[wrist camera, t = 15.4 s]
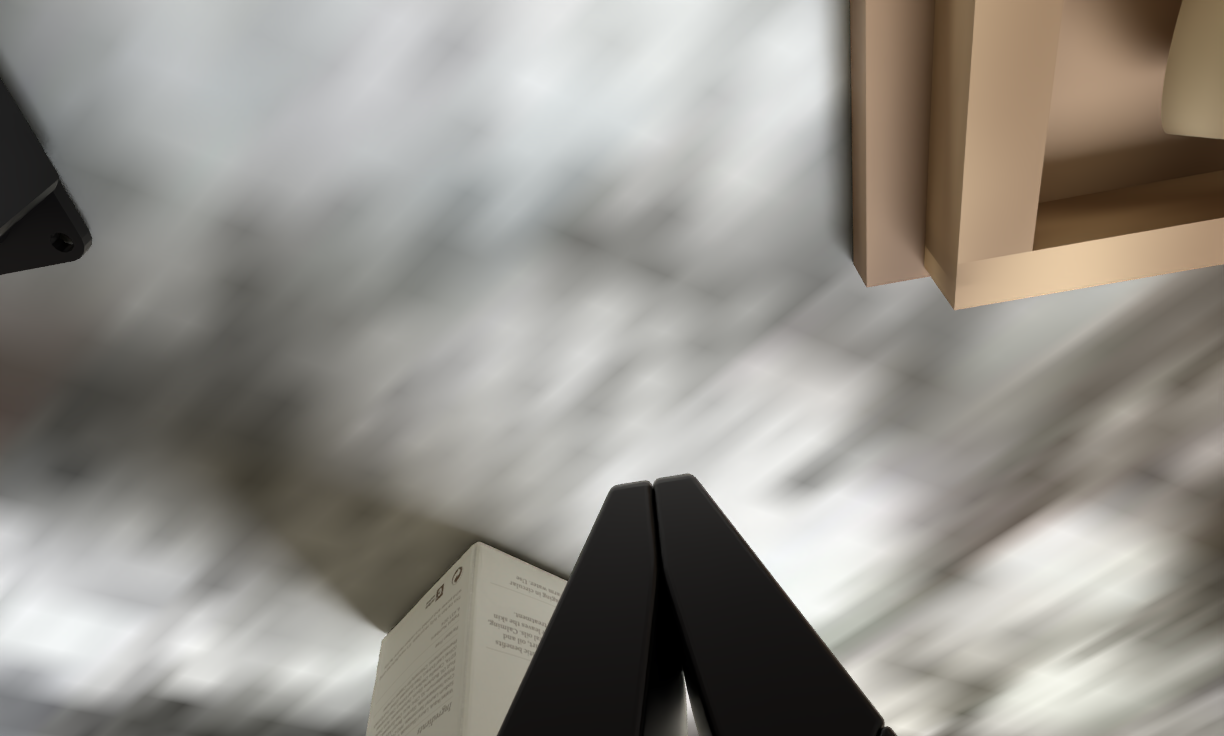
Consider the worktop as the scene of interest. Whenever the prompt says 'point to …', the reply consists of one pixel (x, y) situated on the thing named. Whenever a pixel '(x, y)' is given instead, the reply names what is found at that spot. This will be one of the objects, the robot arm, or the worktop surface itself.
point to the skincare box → (463, 648)
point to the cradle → (1023, 148)
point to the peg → (1195, 72)
